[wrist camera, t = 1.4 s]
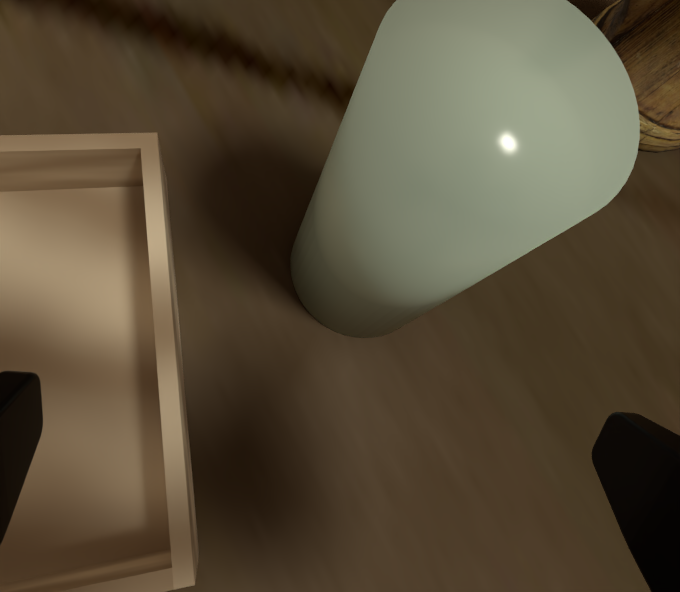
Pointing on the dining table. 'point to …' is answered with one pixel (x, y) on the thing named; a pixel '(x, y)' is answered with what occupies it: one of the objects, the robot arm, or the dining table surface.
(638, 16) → the wooden mug
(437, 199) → the pale green cylinder
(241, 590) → the dining table surface
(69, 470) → the tray
